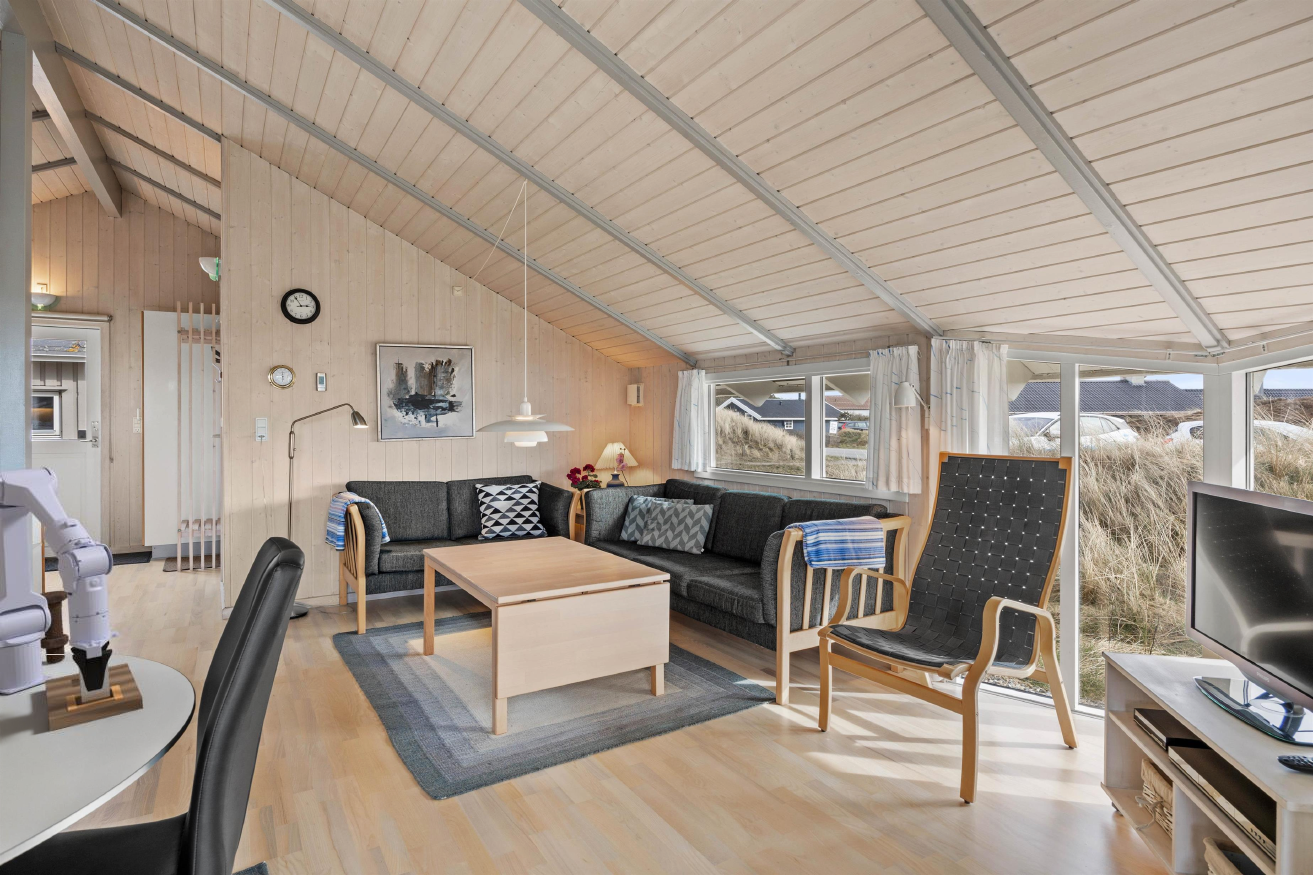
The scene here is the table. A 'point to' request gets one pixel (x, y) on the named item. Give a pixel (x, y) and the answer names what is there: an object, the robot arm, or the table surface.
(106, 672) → the steel peg
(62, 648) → the bolt
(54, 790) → the table surface
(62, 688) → the wooden peg hole board
